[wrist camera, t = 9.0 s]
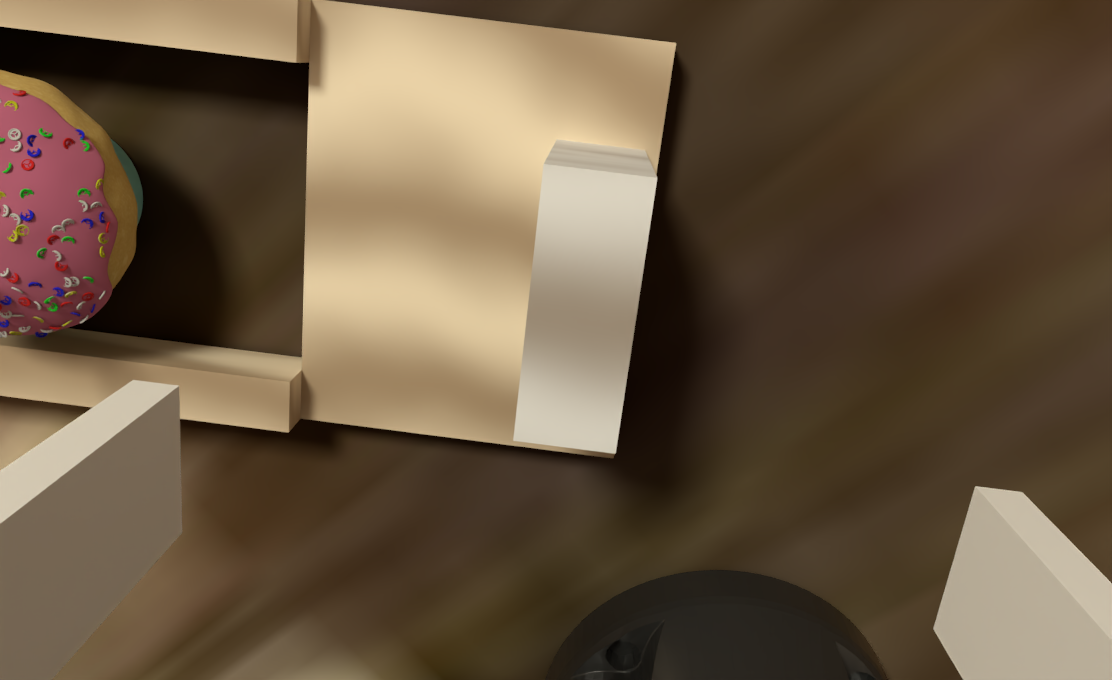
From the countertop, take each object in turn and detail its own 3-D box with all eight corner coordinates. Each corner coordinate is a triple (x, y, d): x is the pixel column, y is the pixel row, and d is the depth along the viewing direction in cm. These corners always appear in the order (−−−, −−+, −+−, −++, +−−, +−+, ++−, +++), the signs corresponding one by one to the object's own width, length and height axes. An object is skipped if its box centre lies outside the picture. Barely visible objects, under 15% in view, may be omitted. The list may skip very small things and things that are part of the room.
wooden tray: (613, 444, 34) (616, 560, 26) (-40, 361, 34) (-227, 451, 27) (673, 43, 29) (698, 39, 22) (-84, -49, 30) (-326, -85, 22)
